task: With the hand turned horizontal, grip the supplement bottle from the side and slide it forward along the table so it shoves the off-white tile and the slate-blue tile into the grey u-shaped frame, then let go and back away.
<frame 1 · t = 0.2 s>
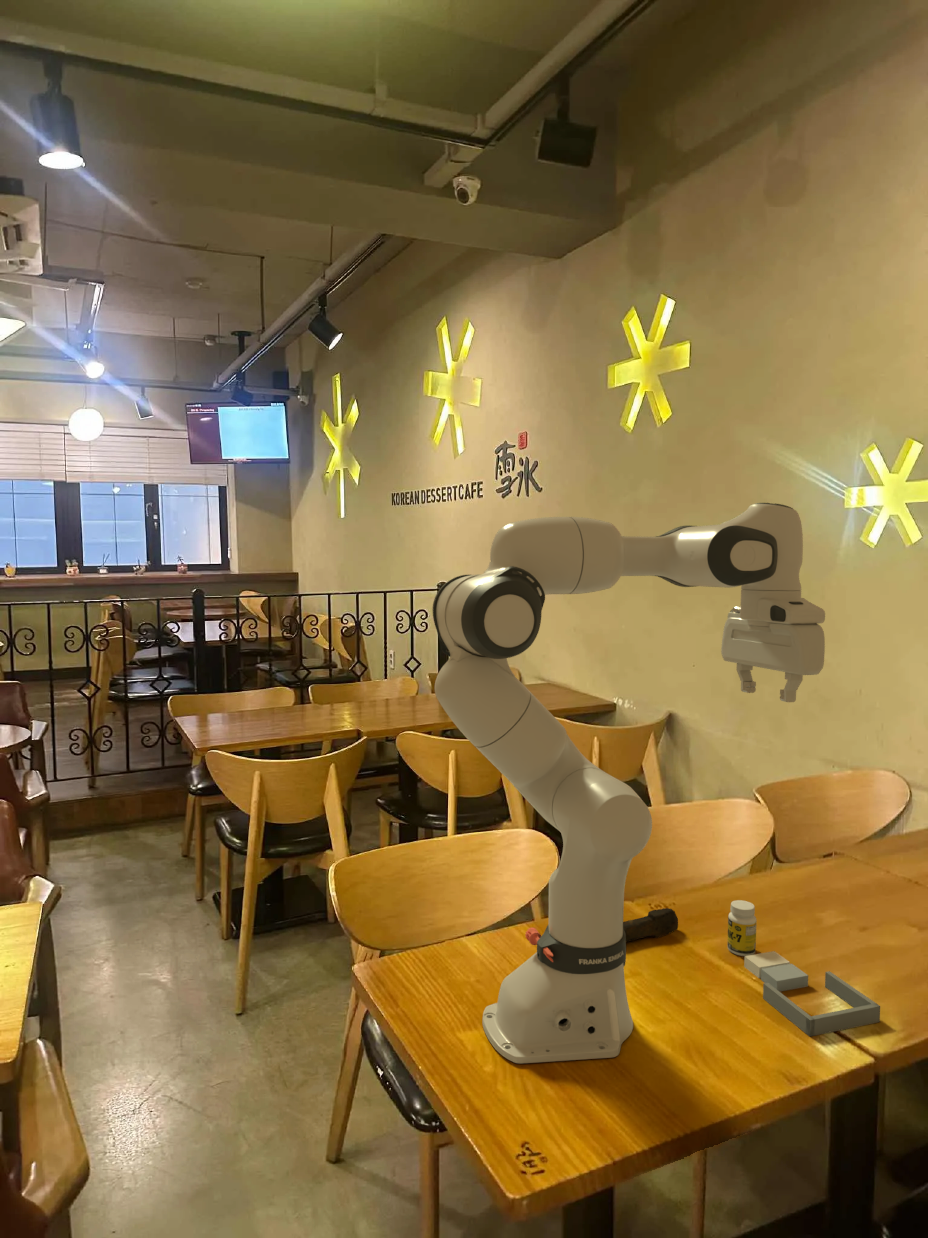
hand: (767, 696, 129), 48 cm above the table, tool pointing down, fingers open, 8 cm apart
tile far: (766, 971, 140), on the table
tile near: (784, 985, 135), on the table
hand tool: (633, 940, 151), on the table
supplement bottle: (741, 951, 146), on the table
grey u-shaped frame: (819, 1010, 127), on the table
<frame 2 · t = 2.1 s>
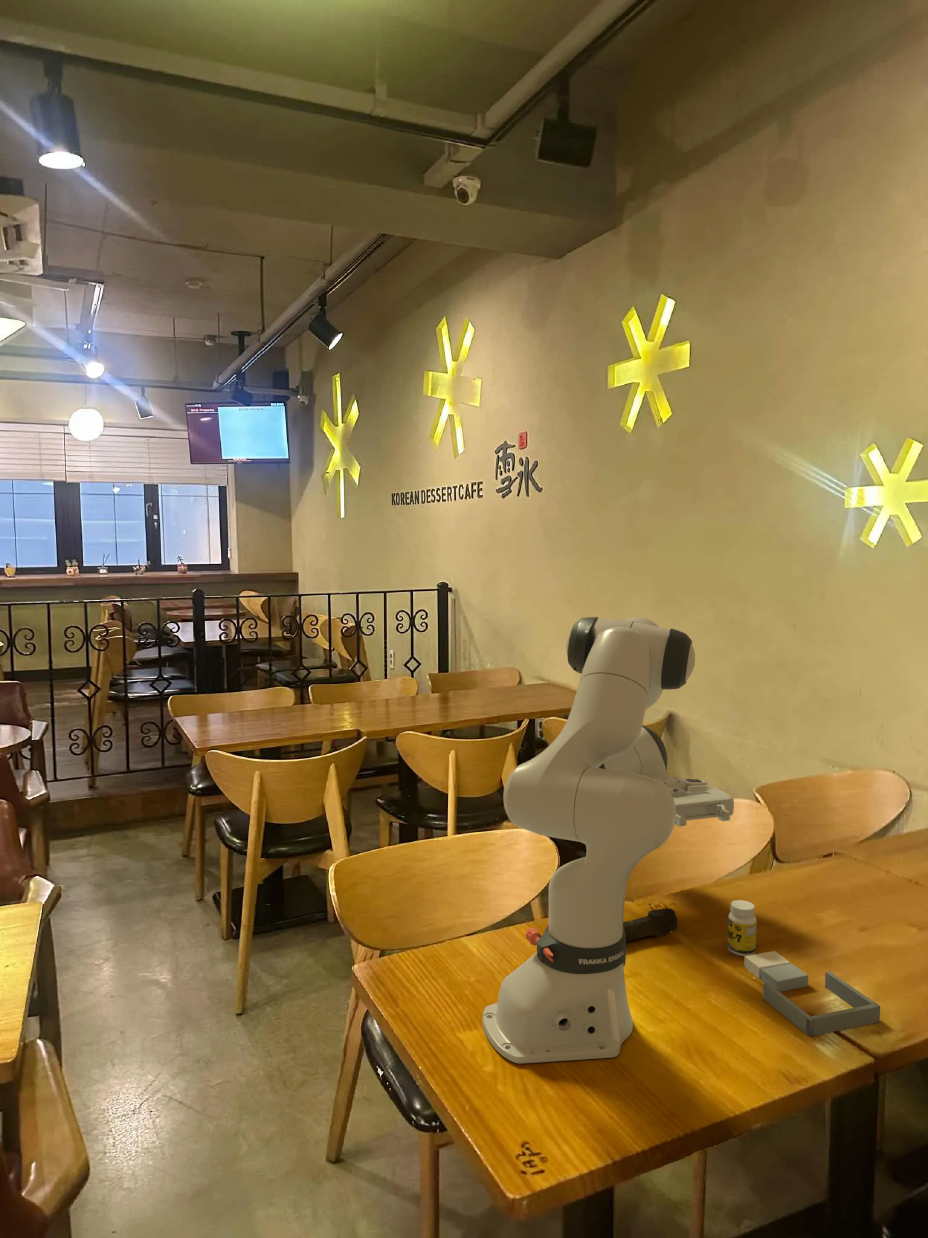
hand: (705, 819, 156), 20 cm above the table, tool horizontal, fingers open, 8 cm apart
nothing on the table moved.
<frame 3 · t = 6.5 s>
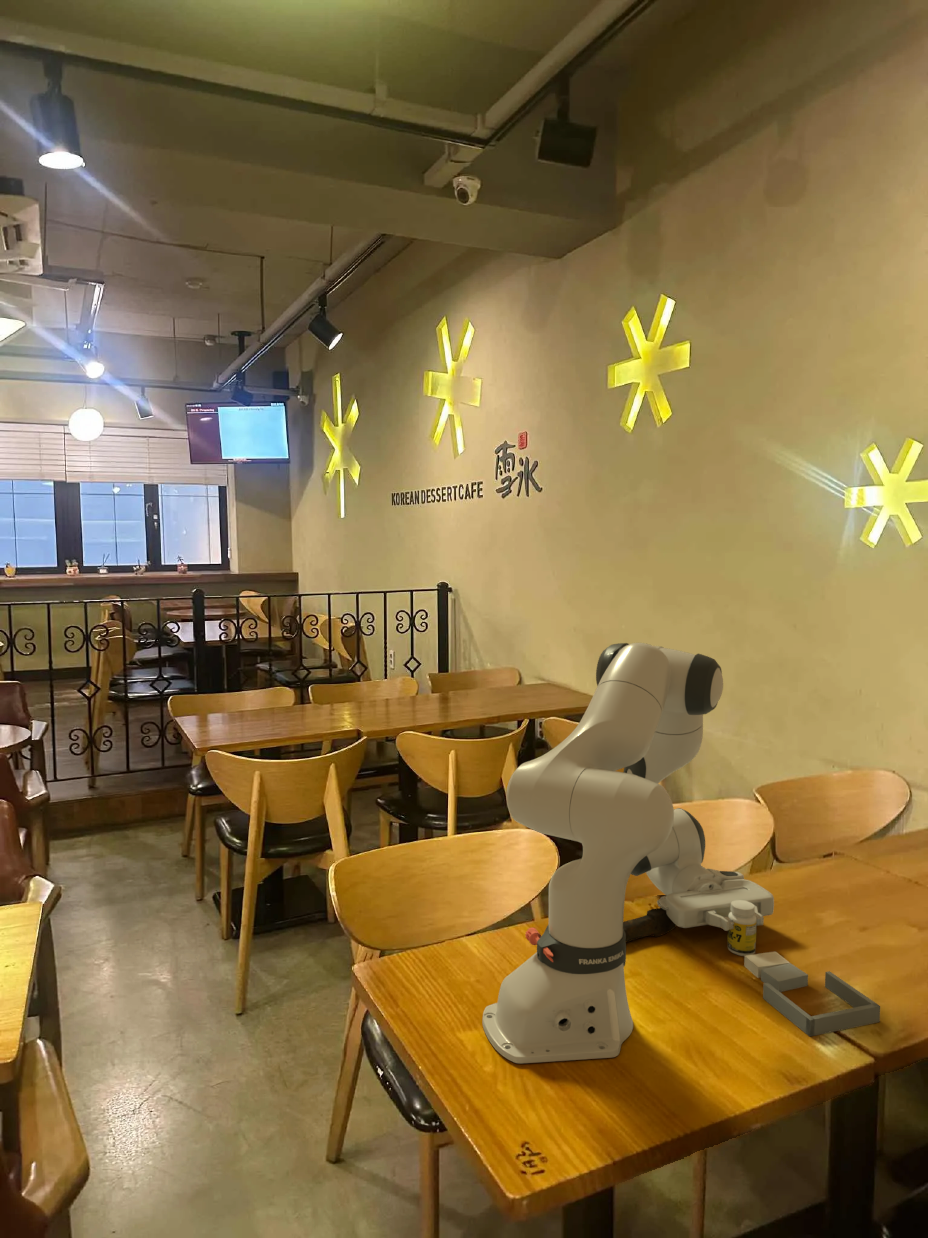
hand: (745, 924, 145), 5 cm above the table, tool horizontal, fingers closed on supplement bottle, 5 cm apart
supplement bottle: (741, 951, 146), on the table, touching gripper
everything else where it was.
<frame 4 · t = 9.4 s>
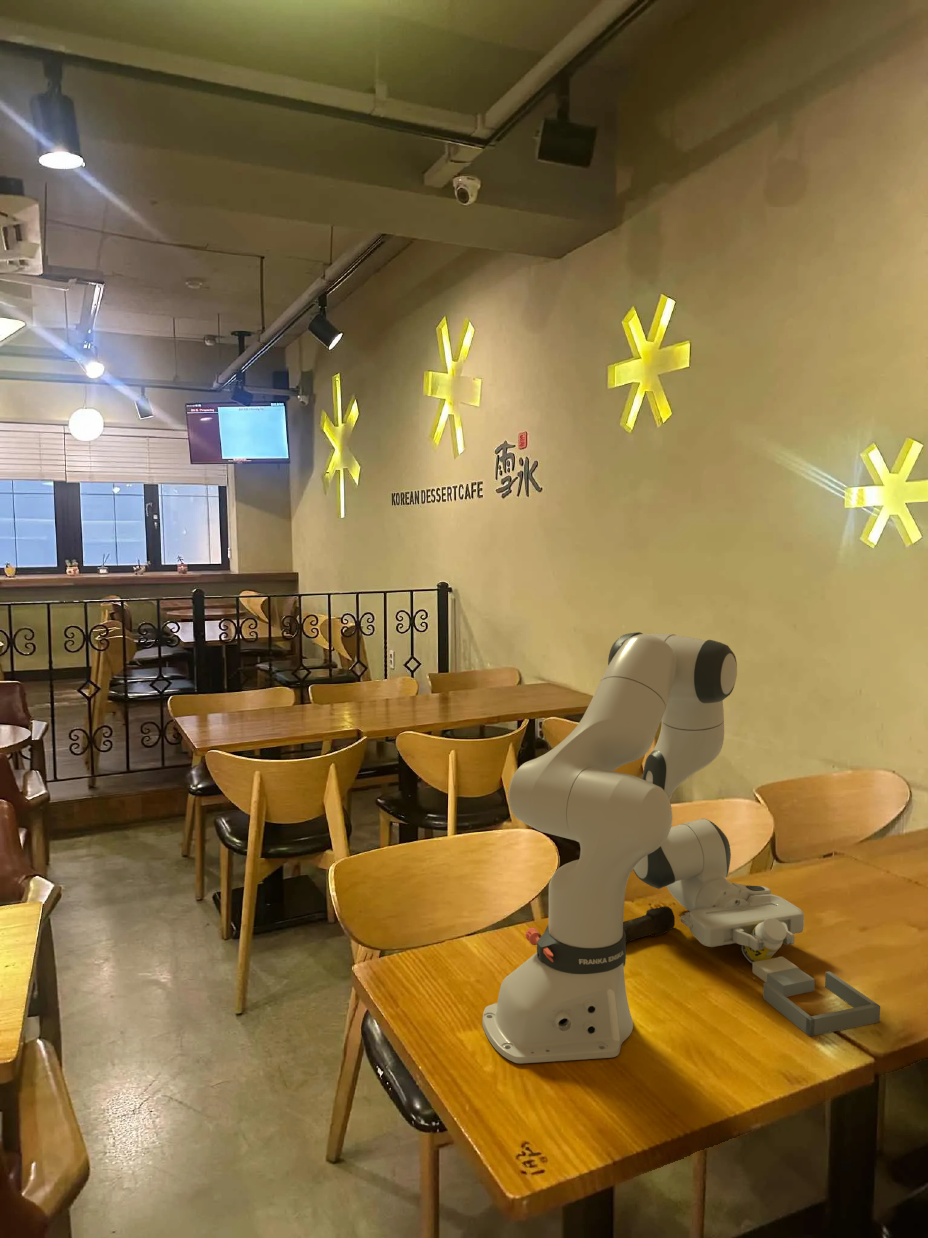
hand: (775, 943, 137), 6 cm above the table, tool horizontal, fingers closed on supplement bottle, 5 cm apart
tile far: (775, 977, 138), on the table
tile near: (790, 989, 134), on the table
supplement bottle: (753, 953, 143), point 1 cm above the table, touching gripper
everything else where it was.
when the fingers open (6 cm above the table, at t = 10.1 s): supplement bottle stays where it is, point 2 cm above the table.
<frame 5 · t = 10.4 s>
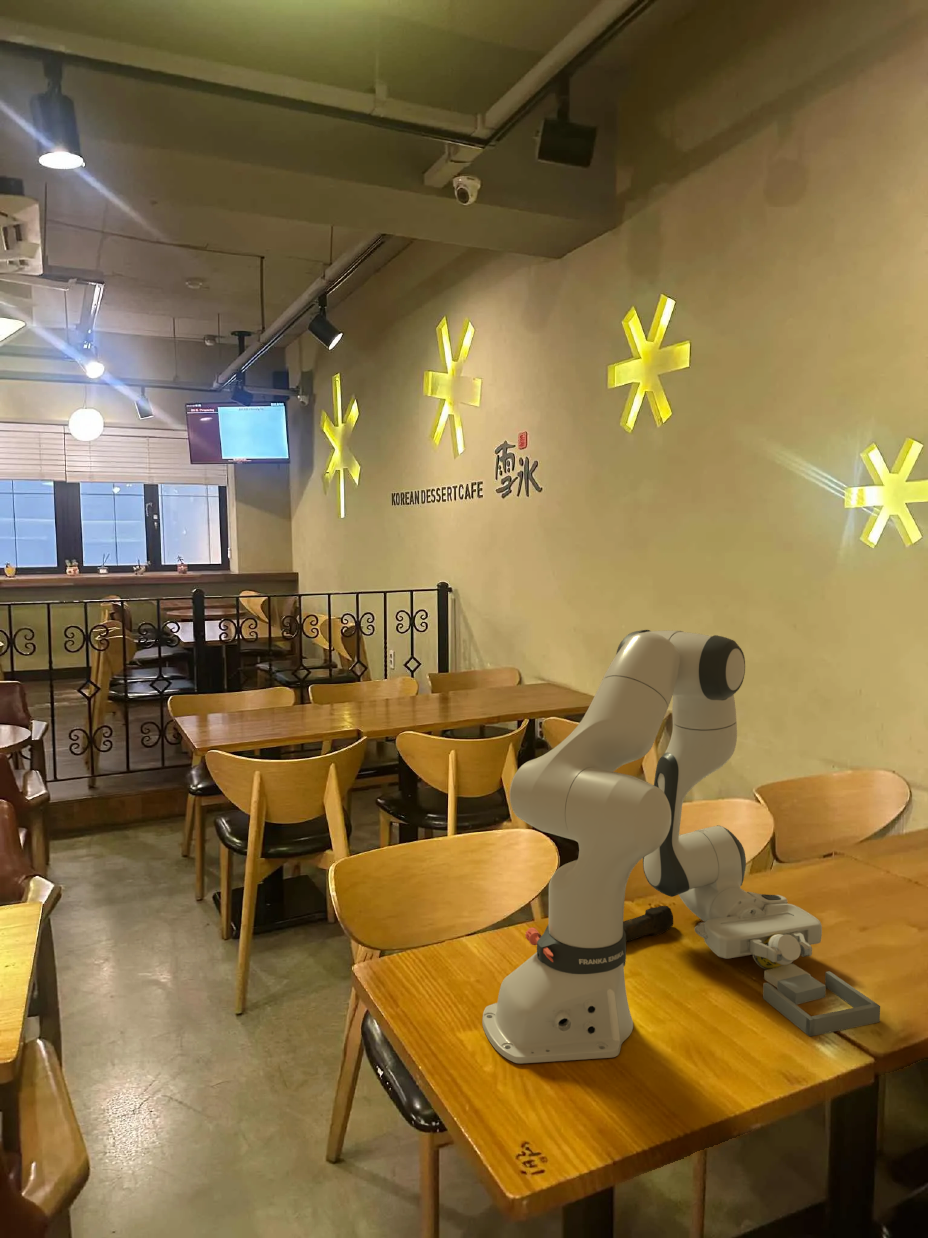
hand: (793, 955, 133), 6 cm above the table, tool horizontal, fingers open, 4 cm apart
tile far: (787, 985, 136), on the table
tile near: (801, 996, 132), on the table
supplement bottle: (764, 955, 141), point 2 cm above the table
everything else where it was.
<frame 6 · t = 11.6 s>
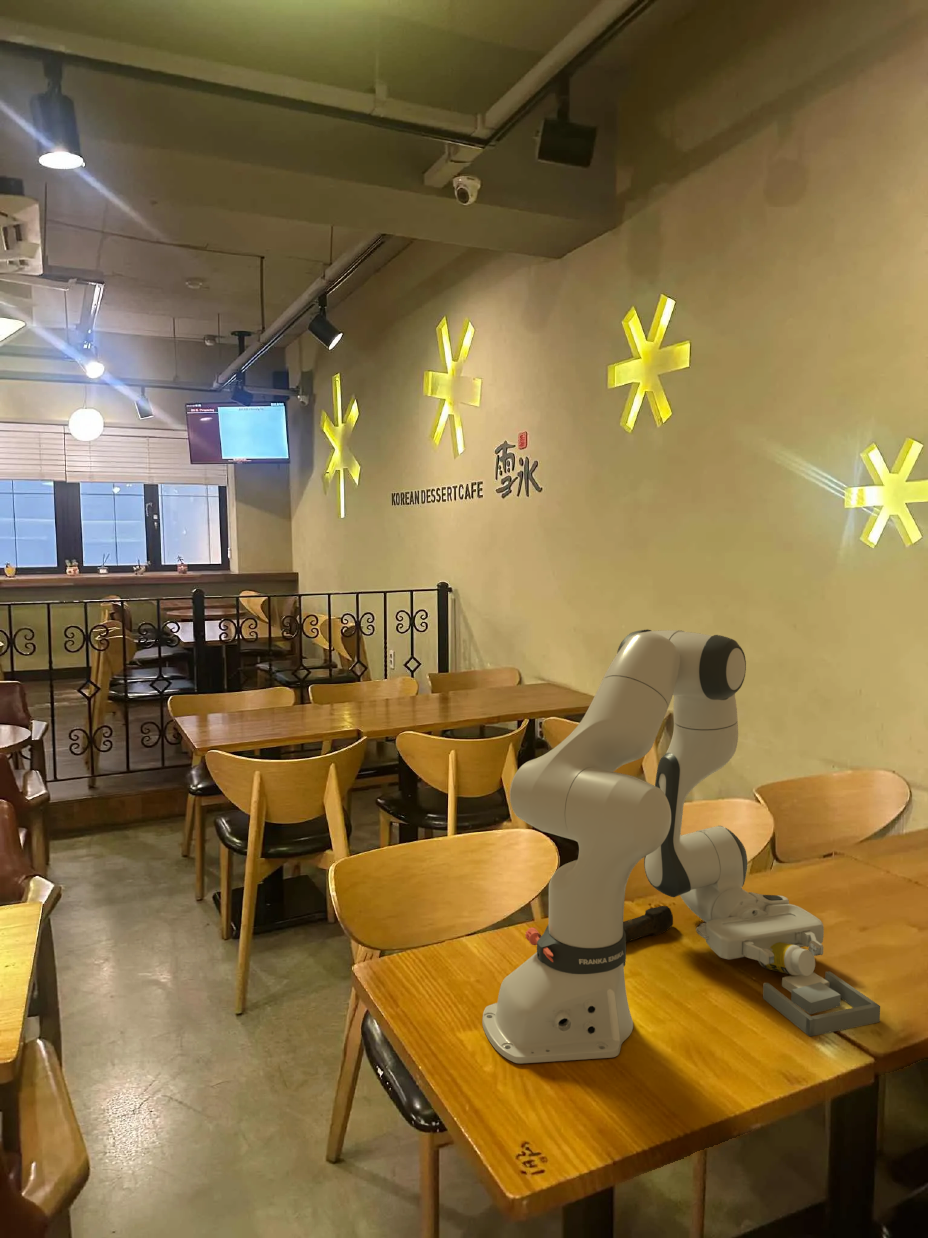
hand: (795, 955, 133), 6 cm above the table, tool horizontal, fingers open, 8 cm apart
tile far: (805, 993, 134), on the table, touching supplement bottle, tile near
tile near: (815, 1005, 129), on the table, touching tile far
supplement bottle: (765, 953, 141), point 2 cm above the table, touching tile far
everything else where it was.
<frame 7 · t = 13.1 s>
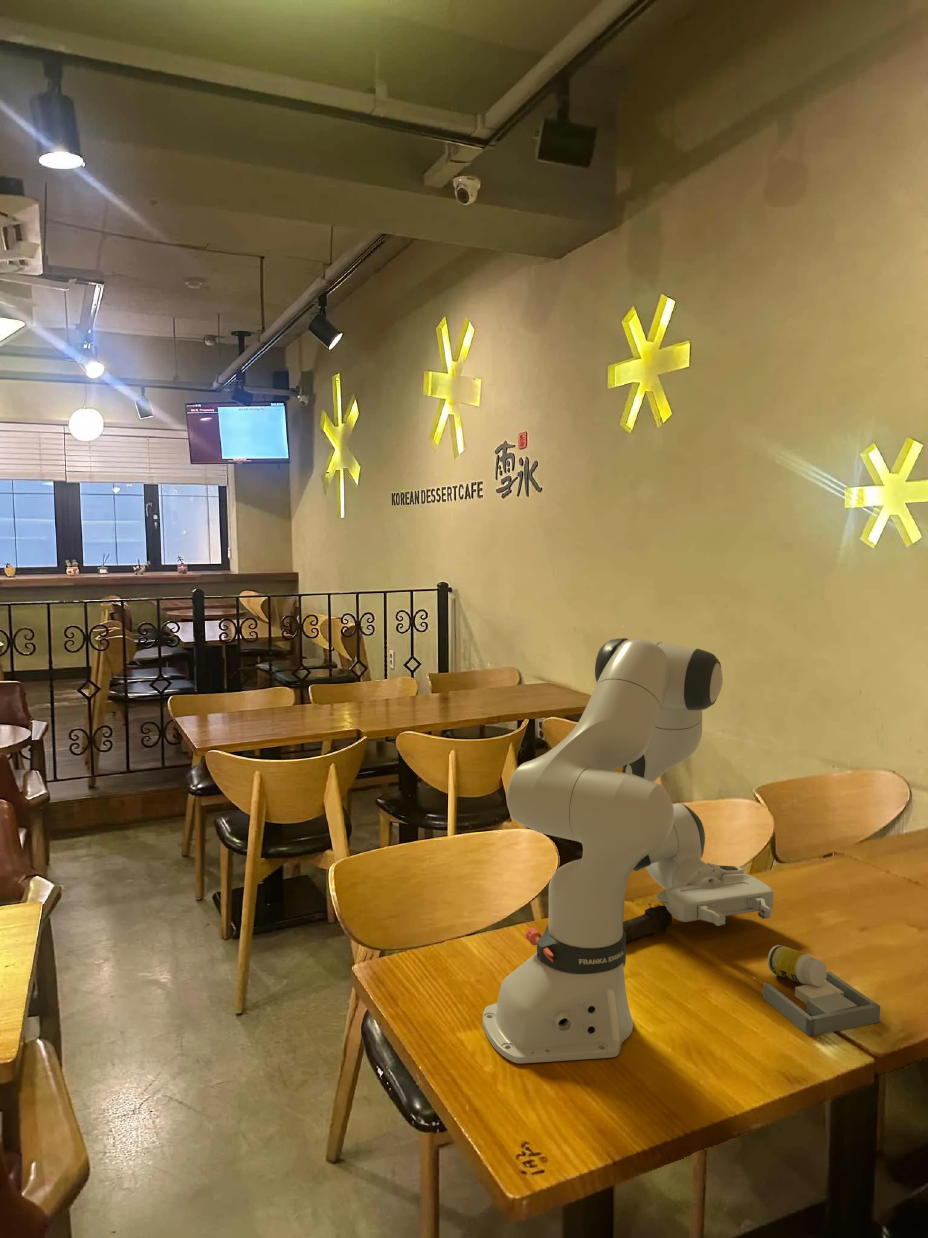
hand: (745, 918, 145), 6 cm above the table, tool horizontal, fingers open, 8 cm apart
tile far: (819, 1003, 131), on the table, touching supplement bottle
tile near: (831, 1016, 126), on the table
supplement bottle: (775, 959, 139), point 2 cm above the table, touching tile far
everything else where it was.
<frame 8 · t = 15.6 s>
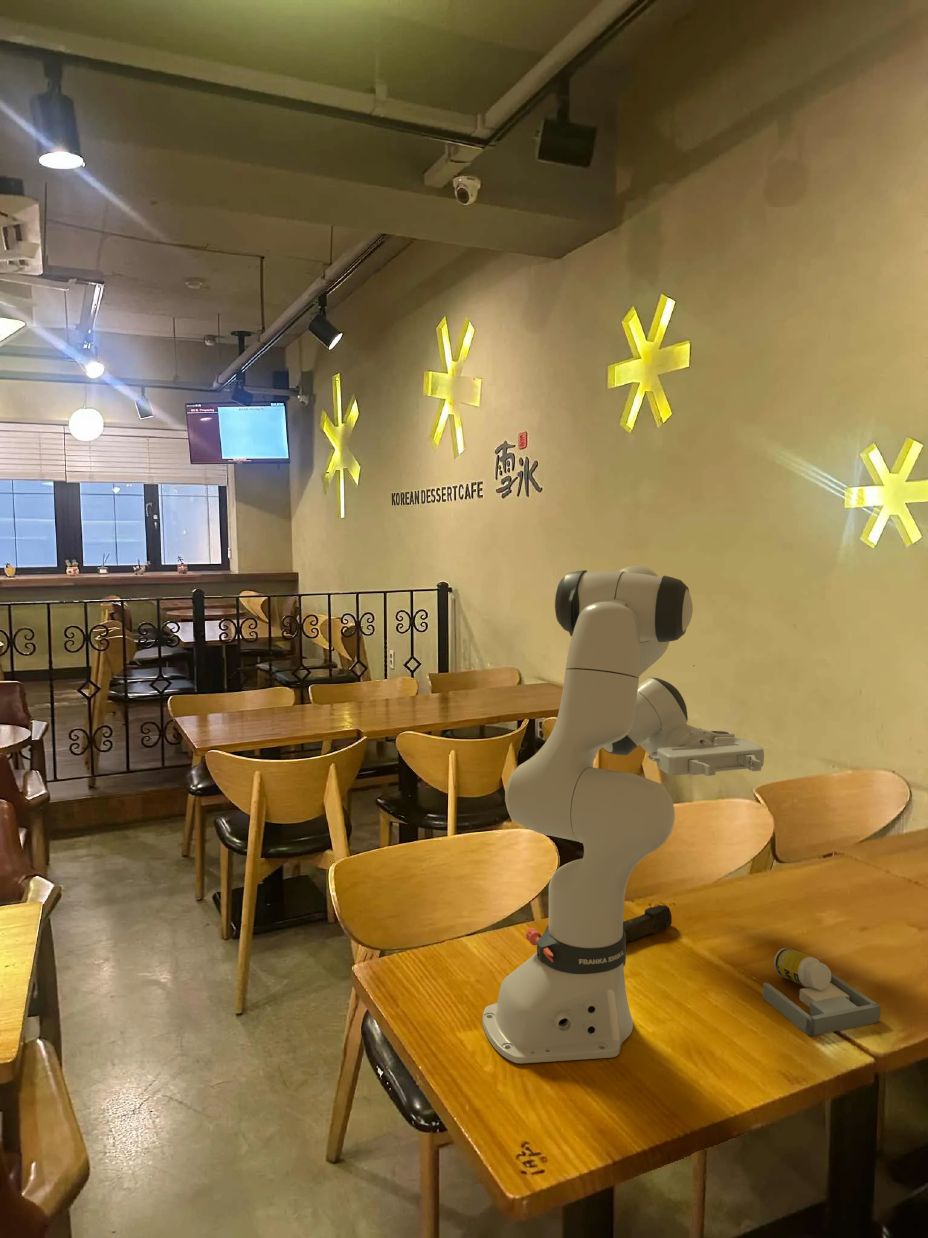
hand: (735, 769, 147), 32 cm above the table, tool horizontal, fingers open, 8 cm apart
tile far: (823, 1006, 129), on the table, touching supplement bottle, tile near
tile near: (835, 1019, 125), on the table, touching tile far
supplement bottle: (784, 962, 138), point 2 cm above the table, touching tile far
everything else where it was.
at the end: tile near inside the target area on the grey u-shaped frame (1.8 cm from its centre), point 0.0 cm above the grey u-shaped frame's base; tile far inside the target area on the grey u-shaped frame (3.1 cm from its centre), point -0.5 cm above the grey u-shaped frame's base; the gripper is holding nothing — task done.
